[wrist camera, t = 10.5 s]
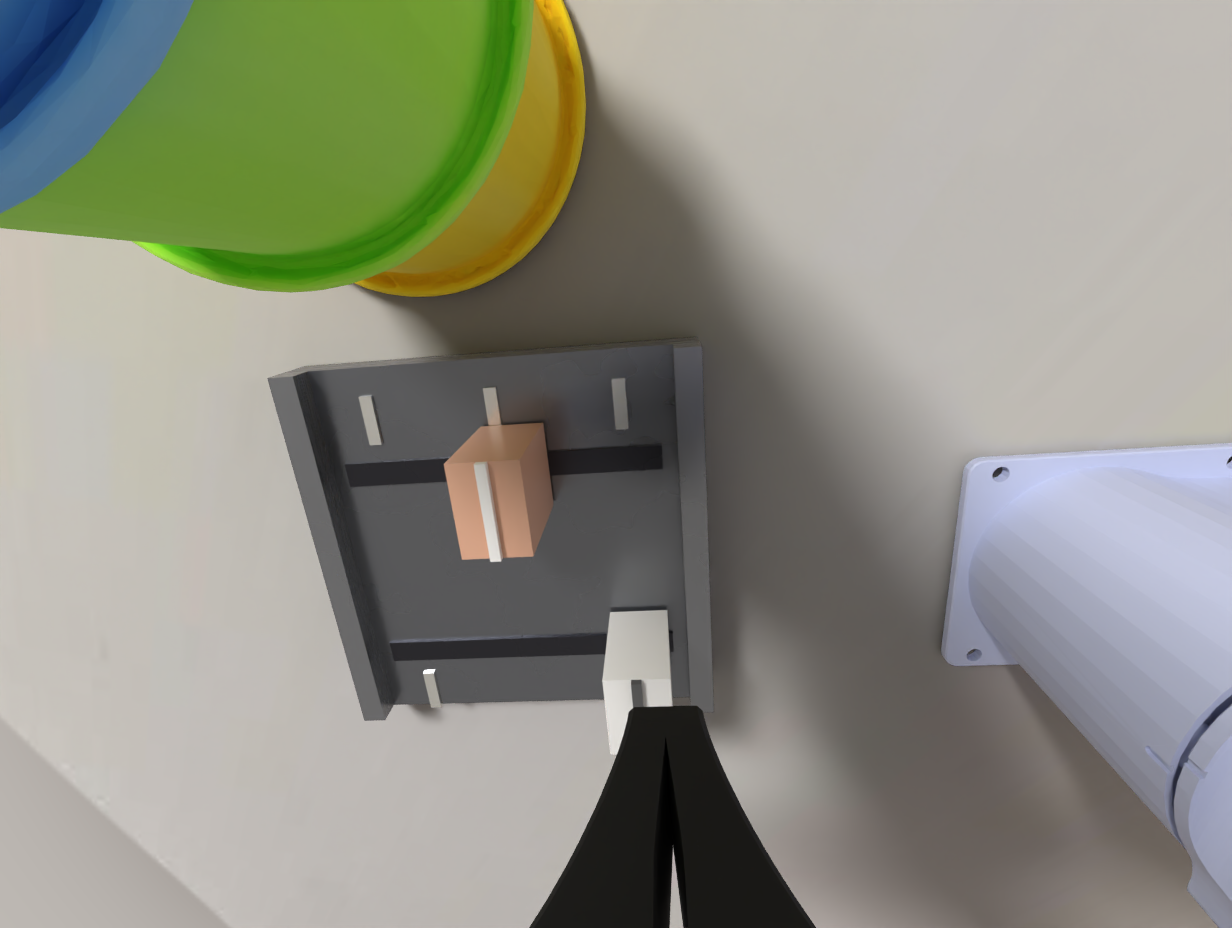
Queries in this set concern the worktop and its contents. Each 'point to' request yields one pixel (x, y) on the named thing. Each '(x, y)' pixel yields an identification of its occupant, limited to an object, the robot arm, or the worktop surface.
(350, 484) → the fader board
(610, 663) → the fader white
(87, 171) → the stacking cups
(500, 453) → the fader terracotta
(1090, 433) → the worktop surface
